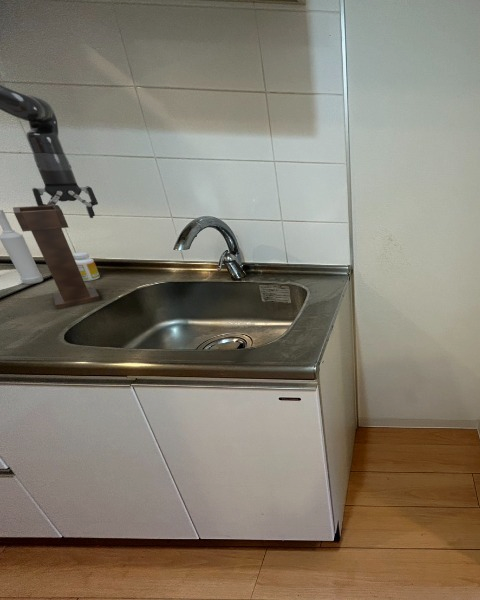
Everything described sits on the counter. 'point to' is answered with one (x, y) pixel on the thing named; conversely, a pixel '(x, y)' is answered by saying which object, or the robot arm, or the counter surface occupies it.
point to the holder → (56, 253)
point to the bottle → (19, 252)
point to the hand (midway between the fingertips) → (74, 219)
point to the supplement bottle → (86, 266)
